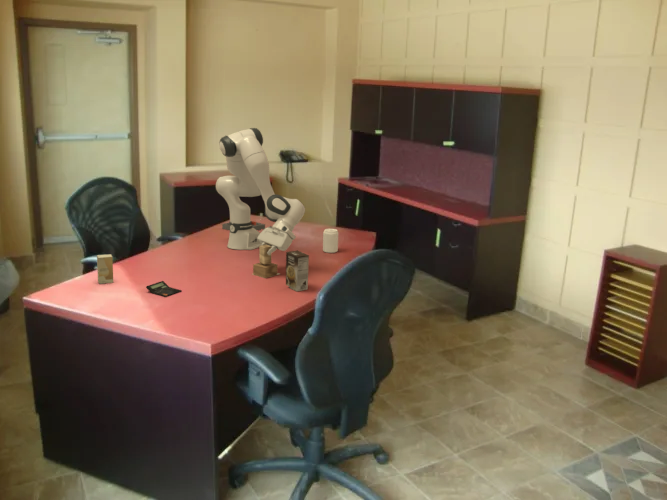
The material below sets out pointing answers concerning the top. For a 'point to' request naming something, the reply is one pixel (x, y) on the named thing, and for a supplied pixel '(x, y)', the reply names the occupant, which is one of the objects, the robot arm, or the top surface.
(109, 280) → the skincare box
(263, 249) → the oak block
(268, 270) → the walnut brick
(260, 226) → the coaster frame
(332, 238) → the beverage can
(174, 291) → the calculator
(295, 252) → the coffee box
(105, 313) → the top surface
